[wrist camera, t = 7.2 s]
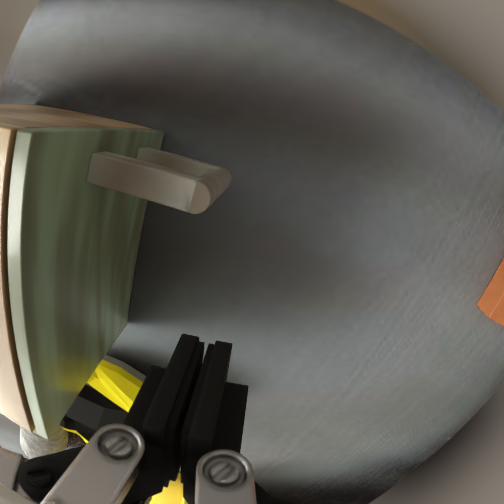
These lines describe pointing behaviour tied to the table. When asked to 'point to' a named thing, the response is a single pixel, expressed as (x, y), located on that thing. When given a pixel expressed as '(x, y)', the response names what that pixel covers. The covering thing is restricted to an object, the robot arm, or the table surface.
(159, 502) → the teapot
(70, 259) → the door
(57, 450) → the seashell
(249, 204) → the table surface
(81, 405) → the black and yellow shoe
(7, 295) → the cupboard
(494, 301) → the button block
